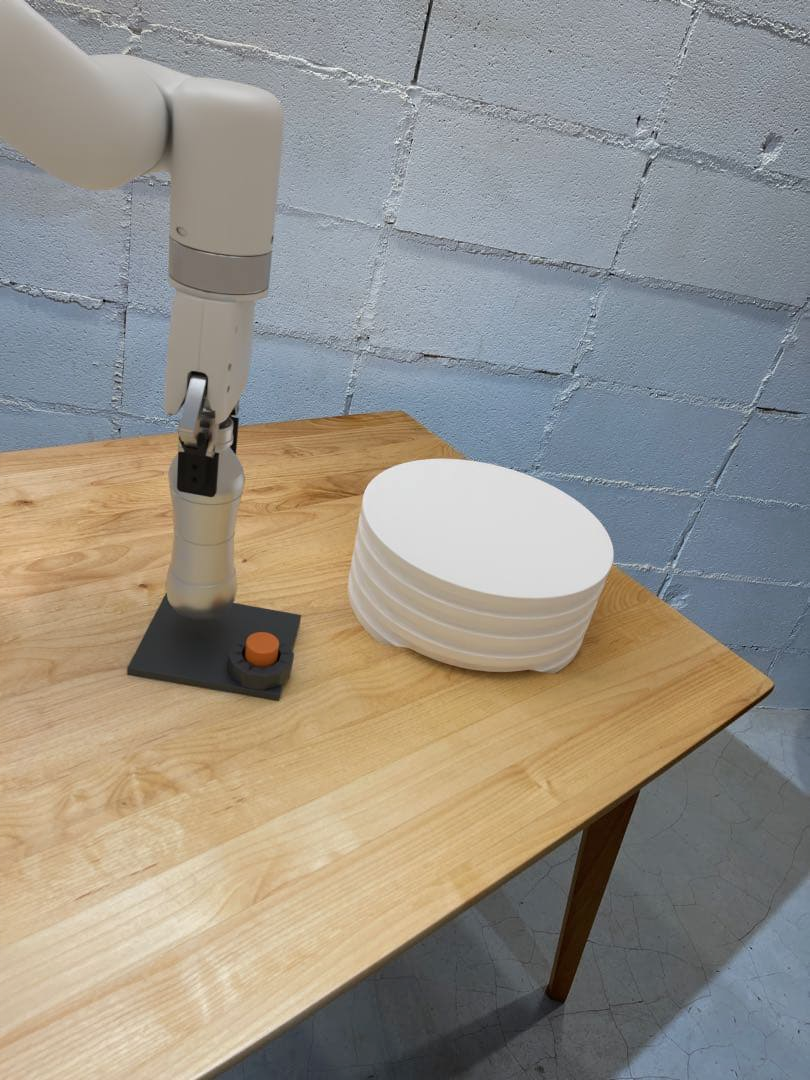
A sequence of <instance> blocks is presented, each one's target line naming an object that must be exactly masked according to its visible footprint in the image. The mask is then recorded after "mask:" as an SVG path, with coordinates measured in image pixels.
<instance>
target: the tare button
mask: <svg viewBox="0 0 810 1080" xmlns="http://www.w3.org/2000/svg"><path fill="white" fill-rule="evenodd" d="M278 649H279V641H278V639H277V638H276V637H275V636H274V635H272V634H270V633H266V632H257V633H254V634H252V635H250V636H249V637H248V638H247V641H246V649H245V658H246V660H247V662H248V663H250V664H251V665H253V666H259V667H266V666H271V665H272V664H274V663H275V662H276V660H277V657H278Z"/></svg>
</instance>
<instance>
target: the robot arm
mask: <svg viewBox="0 0 810 1080" xmlns="http://www.w3.org/2000/svg"><path fill="white" fill-rule="evenodd" d="M284 128H285V113H284V110H283V106H282V103H281V102H280V100H279V99H278V98H277V96H276V95H274V94H273V93H272V92H270V91H268V90H266V89H263V88H261V87H257V86H254V85H251V84H246V83H243V82H238V81H233V80H228V79H221V78H214V77H201V76H200V77H199V76H192V75H189V74H187V73H183V72H180V71H178V70H174V69H173V68H172V69H171V68H169V67H166V66H164V65H162V64H159V63H155V62H153V61H150V60H147V59H144V58H142V57H138V56H134V55H131V54H124V53H109V54H101V53H100V54H91V55H88V54H87V52H85V51H84V50H82V49H81V48H80V47H78V45H76V44H75V43H74V42H72V40H70V39H69V38H68V37H67V36H65V35H64V34H63V33H62V32H61V31H59V30H58V29H57V28H56V27H55V26H54V25H52V23H50V22H49V21H48V20H47V19H46V18H45V17H43V16H42V15H41V14H40V13H39V12H38V11H37V10H35V9H34V8H33V7H32V6H31V5H30V4H29V3H28V2H27V1H26V0H0V139H2V140H3V141H4V142H5V143H7V144H8V145H10V146H11V147H12V148H13V149H15V150H16V151H17V152H18V153H20V154H21V155H22V156H23V157H25V158H26V159H27V160H29V161H30V162H32V163H33V164H34V165H36V166H37V167H39V168H40V169H42V170H43V171H44V172H46V173H48V174H50V175H51V176H53V177H54V178H56V179H58V180H61V181H62V182H64V183H67V184H69V185H70V186H73V187H76V188H80V189H83V190H88V191H100V192H102V191H110V190H113V189H117V188H120V187H121V186H124V185H126V184H128V183H130V182H132V181H133V180H136V179H137V178H138V177H140V176H144V175H150V174H153V173H158V172H163V173H164V172H165V173H169V176H170V196H169V197H170V200H169V231H168V233H169V236H168V264H167V265H168V267H167V270H168V271H167V273H168V274H167V281H168V283H169V284H170V286H172V287H173V288H175V291H174V297H173V301H172V307H171V314H170V322H169V330H168V339H167V348H166V349H167V350H166V360H165V361H166V363H165V375H164V376H165V377H164V387H163V389H164V390H163V403H162V404H163V410H164V413H165V414H166V415H167V416H174V415H175V416H176V415H177V414H179V411H180V410H181V409H182V411H181V415H180V418H179V423H178V427H177V434H178V444H177V454H178V470H177V489H178V490H179V491H180V492H185V493H190V494H195V495H201V496H206V497H214V496H215V494H216V492H217V479H218V464H219V453H216V452H215V450H216V443H217V437H218V430H219V424H220V423H222V422H223V421H225V420H226V419H227V418H228V416H229V417H230V418H231V419H232V420H233V443H232V445H231V446H229V447H230V448H231V449H232V451H233V452H234V453H235V455H236V456H237V447H238V437H239V436H238V434H239V422H240V418H239V417H238V415H239V412H240V399H241V397H242V394H243V393H244V391H245V389H246V387H247V384H248V381H249V377H250V376H249V375H250V369H251V362H252V361H251V360H252V351H253V339H254V328H255V327H254V324H255V308H256V307H255V306H256V301H259V300H261V299H264V298H266V297H267V296H268V295H269V289H270V280H271V268H272V258H273V247H274V237H275V225H276V215H277V214H276V213H277V203H278V195H279V194H278V193H279V185H280V184H279V183H280V174H281V162H282V153H283V141H284V130H285V129H284ZM204 409H205V411H212V412H214V414H213V417H210V416H205V415H202V412H203V411H204ZM200 423H203V424H208V425H210V427H209V434H208V440H207V438H206V435H205V433H201V432H200V430H201V429H200Z"/></svg>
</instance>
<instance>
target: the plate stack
mask: <svg viewBox="0 0 810 1080" xmlns="http://www.w3.org/2000/svg"><path fill="white" fill-rule="evenodd" d="M360 506H361V507H360V513H359V517H358V523H357V532H356V534H355V539H354V544H353V552H352V556H351V562H350V568H349V573H348V579H347V586H346V589H347V590H346V592H347V598H348V602H349V605H350V607H351V610H352V612H353V614H354V616H355V618H356V620H357V621H358V622H359V624H360V625H361V627H362V628H363V629H364V630H365V632H367V633H368V634H369V636H370V637H372V639H374V641H376V642H377V643H379V644H383V645H390V646H394V647H395V646H396V647H401V648H406V649H410V650H411V651H414V652H416V653H418V654H420V655H423V656H425V657H427V658H430V659H432V660H435V661H438V662H441V663H443V664H448V665H451V666H454V667H458V668H461V669H468V670H473V671H482V672H490V673H491V672H493V673H507V672H508V673H510V672H521V671H527V670H529V671H534V672H539V673H547V674H552V675H555V674H557V673H558V672H560V671H562V670H563V669H564V668H565V667H567V666H568V665H570V663H571V662H572V661H573V660H574V659H575V657H576V656H577V655H578V653H579V651H580V648H581V646H582V644H583V641H584V638H585V635H586V632H587V631H588V628H589V626H590V623H591V621H592V617H593V615H594V612H595V610H596V607H597V605H598V602H599V598H600V596H601V594H602V592H603V590H604V587H605V584H606V580H607V578H608V576H609V574H610V571H611V569H612V566H613V563H614V555H615V553H614V552H615V551H614V546H613V542H612V540H611V537H610V535H609V533H608V531H607V529H606V528H605V526H604V525H603V524H602V523H601V521H600V520H599V518H597V517H596V515H594V513H592V512H591V511H590V510H589V508H587V507H586V506H585V505H583V504H582V503H581V502H579V500H576V499H575V498H574V497H572V496H571V495H569V494H567V493H566V492H564V491H562V490H561V489H559V488H557V487H556V486H553V485H552V484H550V483H548V482H545V481H543V480H541V479H539V478H537V477H534V476H532V475H529V474H526V473H523V472H521V471H518V470H514V469H511V468H508V467H504V466H500V465H497V464H493V463H488V462H483V461H482V462H481V461H476V460H469V459H459V458H425V459H418V460H412V461H406V462H402V463H399V464H396V465H394V466H391V467H389V468H387V469H385V470H383V471H381V472H380V473H379V474H376V475H375V477H373V478H372V479H371V481H370V482H369V483H368V484H367V486H366V488H365V490H364V492H363V496H362V500H361V505H360Z"/></svg>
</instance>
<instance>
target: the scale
mask: <svg viewBox="0 0 810 1080" xmlns="http://www.w3.org/2000/svg"><path fill="white" fill-rule="evenodd" d="M301 621H302V614H299V613H293V612H287V611H281V610H276V609H270V608H265V607H260V606H254V605H248V604H242V603H237V602H234V603H233V605H232V606H231V608H230V609H229V610H227V611H226V612H225V613H224V614H223V615H221V616H219V617H217V618H214V619H208V620H196V619H191V618H187V617H185V616H183V615H181V614H179V613H178V612H177V611H176V610H175V609H174V608H173V607H172V606H171V605H170V603H169V601H168V598H167V592H166V591H165V593H164V595H163V598H162V599H161V601H160V604H159V606H158V608H157V609H156V611H155V614H154V615H153V617H152V619H151V620H150V623H149V625H148V626H147V629H146V631H145V633H144V634H143V637H142V638H141V640H140V643H139V644H138V646H137V647H136V651H135V652H134V653H133V656H132V658H131V660H130V661H129V663H128V665H127V667H126V676H131V677H138V678H143V679H148V680H154V681H160V682H164V683H165V682H166V683H171V684H176V685H184V686H189V687H195V688H200V689H206V690H211V691H217V692H223V693H228V694H235V695H241V696H246V697H251V698H257V699H263V700H270V701H275V702H280V700H281V697H282V694H283V688H284V686H285V683H286V682H287V681H288V680H289V679H290V677H291V674H292V670H293V666H294V658H295V653H294V647H295V644H296V640H297V636H298V631H299V630H300V626H301ZM257 632H266V633H270V634H272V635H274V636H275V637H276V638H277V639H278V641H279V649H278V657H277V660H276V662H275V663H274V664H272V665H271V666H266V667H259V666H253V665H251V664H250V663H248V662H247V660H246V658H245V649H246V641H247V638H248V637H249V636H250V635H252V634H254V633H257Z"/></svg>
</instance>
